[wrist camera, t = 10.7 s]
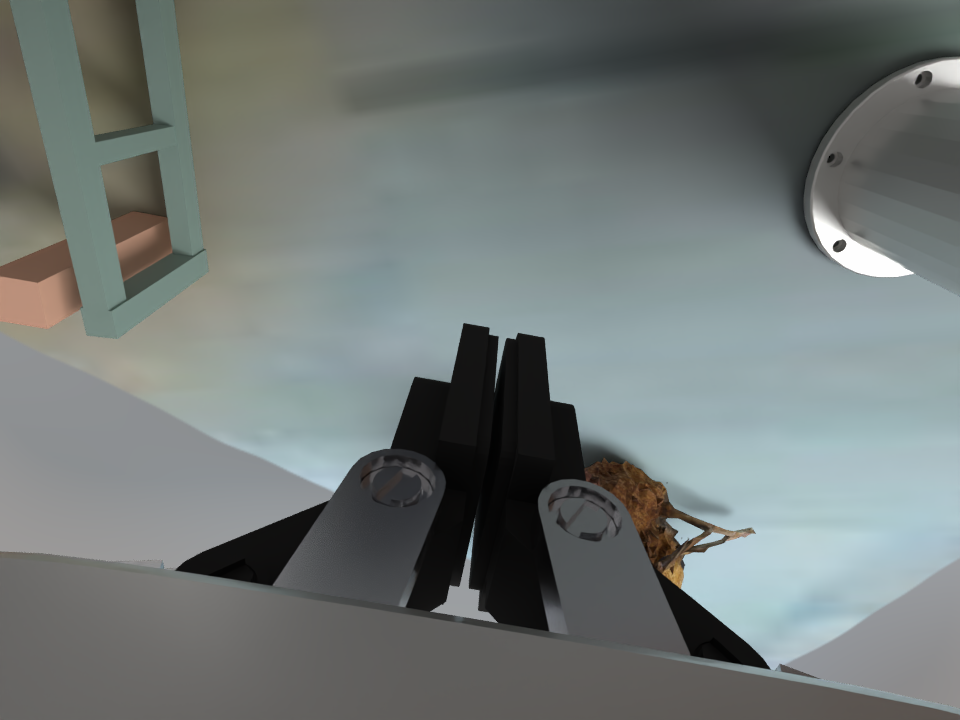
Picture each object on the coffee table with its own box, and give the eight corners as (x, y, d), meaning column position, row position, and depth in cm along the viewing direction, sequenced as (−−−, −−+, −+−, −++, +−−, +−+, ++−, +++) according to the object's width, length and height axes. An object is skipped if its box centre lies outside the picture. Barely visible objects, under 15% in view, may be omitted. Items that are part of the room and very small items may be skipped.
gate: (138, -72, 28) (-48, -141, 18) (178, -66, 28) (13, -132, 19) (185, 265, 37) (74, 339, 27) (215, 269, 37) (116, 344, 27)
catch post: (170, 217, 36) (37, 282, 26) (173, 253, 37) (47, 328, 27) (133, 211, 36) (-17, 273, 25) (137, 246, 37) (-5, 320, 27)
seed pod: (650, 410, 34) (463, 597, 35) (838, 596, 36) (657, 768, 37) (592, 376, 48) (461, 509, 49) (728, 510, 50) (600, 635, 51)
